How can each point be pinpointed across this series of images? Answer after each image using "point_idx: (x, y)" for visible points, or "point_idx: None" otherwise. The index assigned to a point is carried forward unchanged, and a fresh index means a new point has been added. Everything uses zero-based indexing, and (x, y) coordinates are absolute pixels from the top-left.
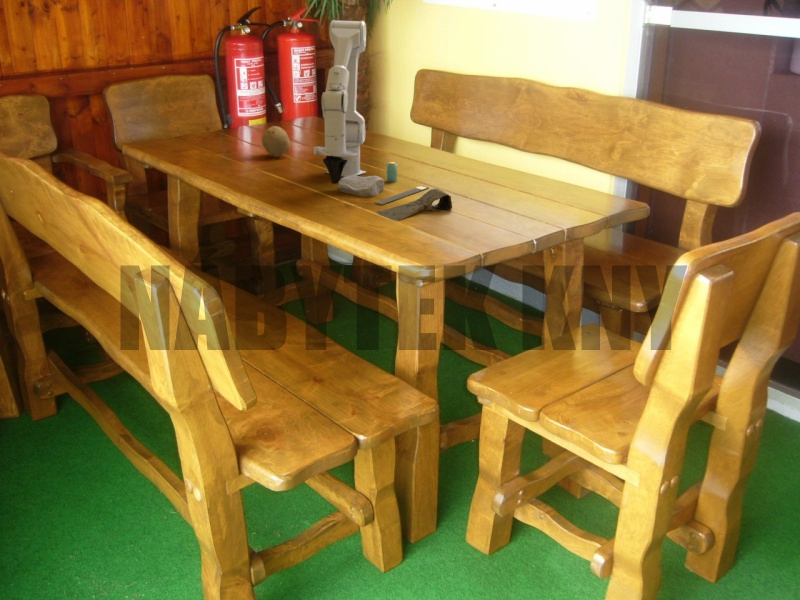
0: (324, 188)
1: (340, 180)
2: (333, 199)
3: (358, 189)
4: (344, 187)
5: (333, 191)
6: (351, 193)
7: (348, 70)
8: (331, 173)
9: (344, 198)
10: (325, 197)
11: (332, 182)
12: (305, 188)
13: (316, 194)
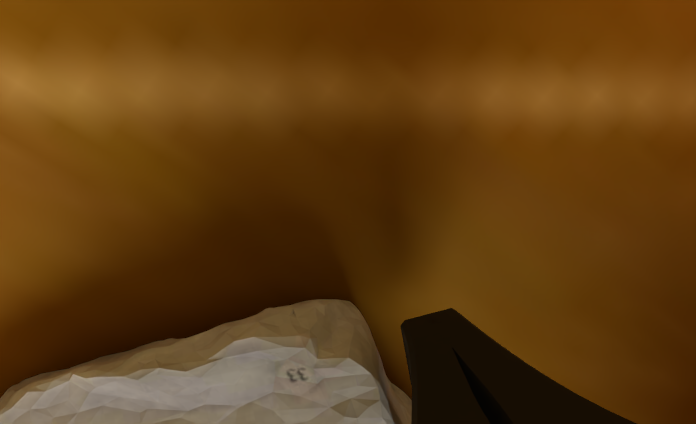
0: (525, 237)
1: (369, 403)
2: (53, 41)
3: (8, 421)
4: (204, 337)
5: (372, 249)
6: (148, 344)
7: None
8: (487, 388)
9: (29, 188)
10: (206, 13)
11: (440, 315)
12: (682, 67)
13: (401, 7)
